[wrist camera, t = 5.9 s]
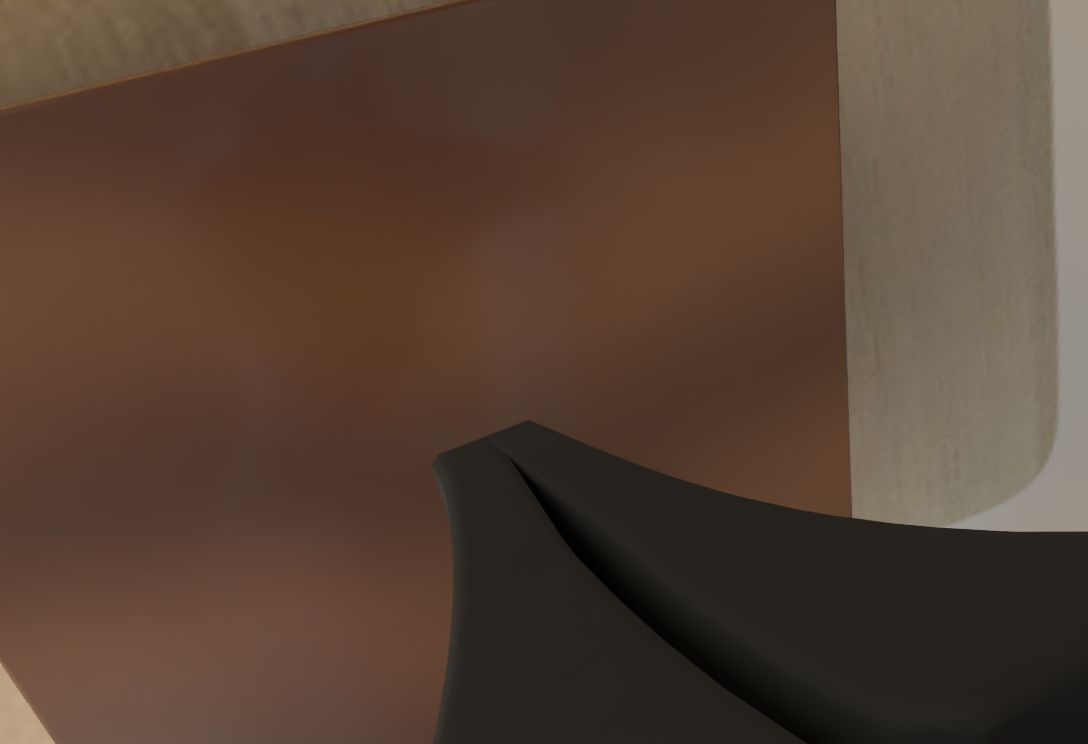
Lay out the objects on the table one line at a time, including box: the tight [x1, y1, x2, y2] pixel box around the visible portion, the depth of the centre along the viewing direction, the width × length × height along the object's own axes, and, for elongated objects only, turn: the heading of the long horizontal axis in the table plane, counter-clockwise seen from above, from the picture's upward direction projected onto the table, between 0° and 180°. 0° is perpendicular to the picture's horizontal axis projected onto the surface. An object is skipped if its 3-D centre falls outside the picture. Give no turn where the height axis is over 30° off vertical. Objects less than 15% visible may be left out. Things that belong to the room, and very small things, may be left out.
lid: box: [0, 0, 852, 744], centre depth 15 cm, size 13×16×1 cm
